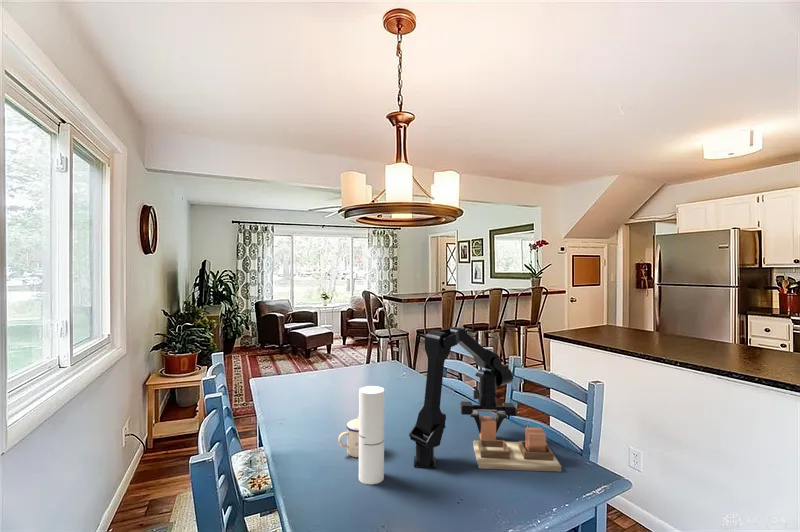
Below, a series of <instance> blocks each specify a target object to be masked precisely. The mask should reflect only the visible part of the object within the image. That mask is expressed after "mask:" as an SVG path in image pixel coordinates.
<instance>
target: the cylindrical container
mask: <svg viewBox="0 0 800 532" xmlns="http://www.w3.org/2000/svg"><path fill="white" fill-rule="evenodd" d="M358 416H359V458H358V480H359V481H360V482H361V483H362V484H365V485H377V484H380V483H382V482H383V481H384V478H385V388H384V387H382V386H377V385H367V386H363V387H360V388H359V389H358Z"/></svg>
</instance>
